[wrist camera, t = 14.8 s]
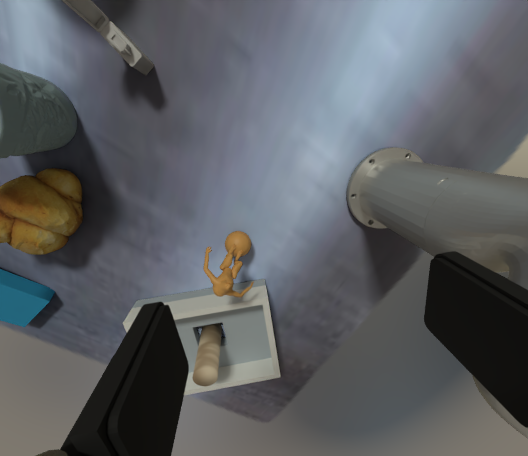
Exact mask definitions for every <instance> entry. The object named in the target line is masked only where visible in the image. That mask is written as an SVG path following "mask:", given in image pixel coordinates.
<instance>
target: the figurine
mask: <svg viewBox="0 0 528 456" xmlns="http://www.w3.org/2000/svg"><path fill="white" fill-rule="evenodd" d="M225 248H226V250H227V252H228V254H227V255H226V258H225V259H224V261H223V263H222V264H221V265H220V269H221V270H223V272H222V274H221V275H220V276H219V277H218V278H216V277H215V276H214V275H213V274H212V272H211V271H210V270H209V269H208V261H209V255H208V253H209V252H211V251H212V250H211V251H210V249H211V247H210V249H209V247H207V249H206V256H205V263H204V271H205V273H206V274H207V276H208V277H209V278H210V280H211V282H212V284H213V292H214V294H215V295H216V296H219V297H222V296H224V295H229V296H235V297H242V296H243V295H244V294H245V293H246V292H248V291H249V290H250V289H251V288H252V286H253V283H254V281H253V282H252V283H251V285H250V287H247V288H246V289H245V290H244V291H242V292H241V293H238V292H236V291H233V290H232V288H233V279H236V276H237V273H238V272H239V270H240V268H241V266H242V265H243V263H242V262H241V261H238V259H239V258H240V257H242V256H244V255H246V254H247V253H248V252H249V250H250V248H251V240H250V238H249V236H248V235H247V234H246V233H244V232H241V231H235V232H232V233H231V234H229V235H228V237H227V238H226V241H225ZM233 256H234V257H236V258H235V260H234V266H233V267H232V270H231V268H228V267H229V266H230V265H231V264H232V258H233ZM232 278H233V279H232Z"/></svg>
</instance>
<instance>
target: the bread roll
mask: <svg viewBox="0 0 528 456" xmlns="http://www.w3.org/2000/svg"><path fill="white" fill-rule="evenodd" d="M81 202H82V187H81V184H80V181H79V179H78V178H77V177H76V176H75V175H74V174H73V173H72V172H70V171H68V170H64V169H57V168H51V169H45V170H43V171H41V172H39V173H37V175H36V177H34V176H29V175H28V176H27V175H25V176H20V177H18V178H16V179H13V180H11V181H9V182H7V183H5V184H4V185H2V186H1V187H0V243H4V242H7V243H8V244H9V245H11V246H12V247H13V248H15V249H19V250H21V251H23V252H25V253H28V254H37V255H40V254H47V253H50V252H53V251H56V250H59V249H61V248H62V247H63V246H64V245H66V243H67V242H68V240H69V236H71V235H72V234H74V233H75V232H76V230H77V229H78V228H79V226H80V224H81V223H82V220H83V215H82V209H81Z"/></svg>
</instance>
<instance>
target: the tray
mask: <svg viewBox="0 0 528 456" xmlns="http://www.w3.org/2000/svg"><path fill="white" fill-rule="evenodd" d="M252 282H253V281H248V282H243V283H237V284H233V288H232V290H233V291H236V292H238V293H241V292H242V291H244V290H245V289H246V288H247V287H250V285H251V283H252ZM155 302H163V303H164V305H169V307H170V309H171V312H172V315H173V318H174V321H175V324H176V327H177V330H178V333H179V336H180V339H181V342H182V345H183V348H184V351H185V354H186V357H187V360H188V364H189V373H188V378H187V382H186V387H185V392H184V395H189V394H194V393H199V392H205V391H210V390H215V389H221V388H226V387H231V386H237V385H242V384H248V383H253V382H258V381H264V380H269V379H274V378H280V377H281V376H280V370H279V363H278V357H277V351H276V345H275V339H274V332H273V326H272V320H271V314H270V307H269V301H268V295H267V289H266V284H265V279H260V280H254V283H253V286H252V288H251V289H250V290H249V291H248V292H246V293H245V294H244V295H243V296H242V297H235V296H229V295H224V296H222V297H219V296H216V295H215V294H214V292H213V288H208V289H202V290H196V291H190V292H184V293H178V294H173V295H167V296H161V297H155V298H149V299H143V300H138V301H136V303H135V304H134V306H133V308H132V309H131V311H130V312H129V314H128V316H127V317H126V319H125V321H124V322H123V325H124V327H125V330H126V332H128V330H129V329H130V327H131V325H132V323H133V321H134V320H135V318H136V316H137V314H138V313H139V311H140V309H141V307H142V306H143V305H144V304H149V303H155ZM221 322H222V323H223V327H224V331H225V335H226V337H224V338H221V345H220V356H219V367H218V378H217V381H216V382H215V383H214V384H212V385H210V386H199V385H197V384H196V383H194V381H193V378H192V377H193V372H194V367H195V362H196V356H197V351H198V346H199V341H200V337H199V333H198V330H197V327H198V326H204V325H210V324H215V323H221Z"/></svg>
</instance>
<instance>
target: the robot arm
mask: <svg viewBox="0 0 528 456" xmlns="http://www.w3.org/2000/svg"><path fill="white" fill-rule="evenodd" d="M369 161H370V163H369ZM352 194H353V196H351V195H352ZM347 202H348V206H349V209H350V211H351V213H352V214H353V216H354V217H355V218H356V219H357V220H358V221H360V222H361V223H363V224H364V225H366V226H368V227H372V228H376V229H384V228H389V229H391V230H392V231H394V232H396V233H397V234H399V235H400V236H402V237H403V238H405V239H407V240H408V241H410V242H411V243H413V244H415V245H416V246H418V247H419V248H421V249H423V250H424V251H426V252H427V253H429V254H431V255H432V256H434V259H432V260H431V263H430V271H429V280H428V289H427V297H426V306H425V315H424V321H425V325H426V327H427V328H428V329H429V330H430V331H431V333H433V335H434V336H435V337H436V338H437V339H438V340H439V341H440V342H441V343H442V344H443V345H444V346H445V347H446V348H447V349H448V350H449V351H450V352H451V353H452V354H453V355H454V356H455V357H456V358H457V359H458V360H459V361H460V362H461V363H462V364H463V365H464V366H465V367H466V369H467V370H468V371H469V372H470V373H471V374H472V375H473V379H474V381H475V384H476V386H477V388H478V390H479V392H480V393H481V395H482V396H483V397H484V399H485V400H486V401H487V403H488V404H489V405H490V406H491V407H492V408H493V409H494V410H495V411H496V413H498V414H499V415H500V416H501V417H502V418H503V419H504V420H505V421H506V422H507V423H508V424H510V425H511V426H512V427H513V428H515V429H516V430H517V431H519V432H520V433H521V434H522V435H524V436H525V437H527V438H528V178H522V177H514V176H507V175H500V174H493V173H486V172H480V171H473V170H467V169H460V168H454V167H447V166H441V165H434V164H428V163H423V161H422V160H421V159H420V158H419V156H418V155H416V154H415V153H413V152H412V151H409V150H407V149H403V148H393V147H391V148H384V149H381V150H378V151H375V152H374V153H372V154H370V155H368V156H367V157H366V158H365V159H364V160H362V161H361V162H360V164H359V165H358V166H357V167H356V168H355V170H354V172H353V173H352V175H351V177H350V180H349V183H348V187H347ZM507 271H509V275H508V278H505V277H503V276H501V275H499V274H497V273H498V272H507ZM188 373H189V364H188V360H187V357H186V354H185V351H184V348H183V345H182V342H181V339H180V336H179V333H178V330H177V327H176V324H175V321H174V318H173V315H172V312H171V309H170V307H169V305H164V303H163V302H155V303H149V304H144V305H143V306H142V307H141V309H140V311H139V313H138V314H137V316H136V318H135V320H134V321H133V323H132V325H131V327H130V329H129V330H128V332H127V334H126V336H125V337H124V339H123V341H122V343H121V344H120V346H119V348H118V350H117V352H116V353H115V355H114V356H113V358H112V359H111V361H110V363H109V365H108V366H107V368H106V370H105V372H104V373H103V375H102V377H101V379H100V380H99V382H98V384H97V386H96V387H95V389H94V391H93V393H92V394H91V396H90V398H89V400H88V401H87V403H86V405H85V407H84V408H83V410H82V412H81V414H80V416H79V418H78V419H77V421H76V423H75V424H74V426H73V428H72V430H71V431H70V433H69V435H68V437H67V438H66V440H65V442H64V444H63V446H62V447H61V449H60V450H59V449H58V450H48V451H46V452H43V453H41V454H38V455H36V456H171V452H172V448H173V443H174V439H175V434H176V429H177V424H178V420H179V415H180V411H181V406H182V401H183V396H184V392H185V387H186V382H187V378H188Z"/></svg>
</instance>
